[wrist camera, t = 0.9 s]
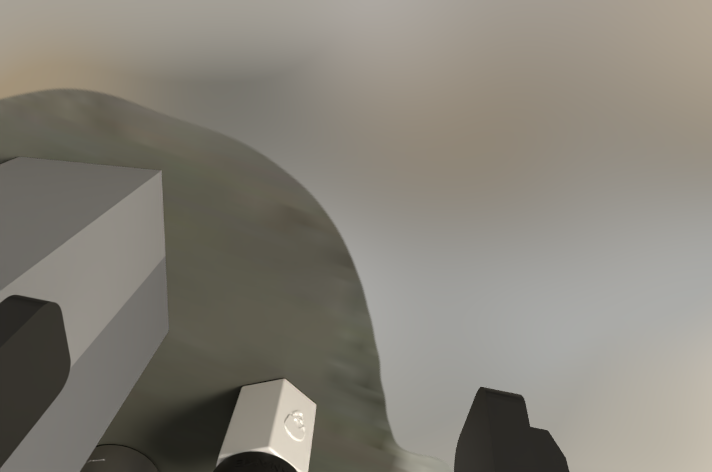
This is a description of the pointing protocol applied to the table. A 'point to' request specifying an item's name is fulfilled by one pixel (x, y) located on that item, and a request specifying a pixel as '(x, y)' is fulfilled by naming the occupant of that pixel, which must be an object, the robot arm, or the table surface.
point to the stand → (85, 289)
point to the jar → (269, 430)
